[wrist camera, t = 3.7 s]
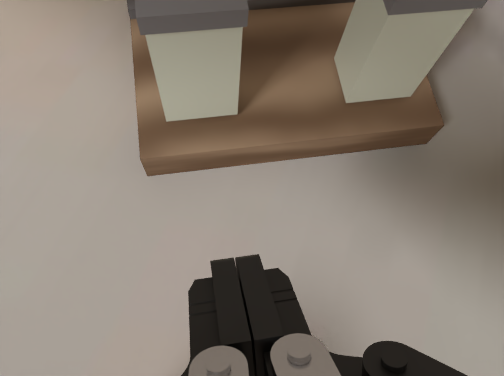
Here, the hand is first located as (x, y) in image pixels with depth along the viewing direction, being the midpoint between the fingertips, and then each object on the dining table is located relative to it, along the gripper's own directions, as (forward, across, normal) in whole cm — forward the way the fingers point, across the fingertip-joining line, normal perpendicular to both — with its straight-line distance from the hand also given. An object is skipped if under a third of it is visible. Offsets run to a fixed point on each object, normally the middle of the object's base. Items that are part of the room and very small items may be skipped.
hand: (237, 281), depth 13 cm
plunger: (+20, +13, +2) cm, 24 cm away
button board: (+25, +6, +2) cm, 26 cm away
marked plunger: (+20, 0, +2) cm, 20 cm away
